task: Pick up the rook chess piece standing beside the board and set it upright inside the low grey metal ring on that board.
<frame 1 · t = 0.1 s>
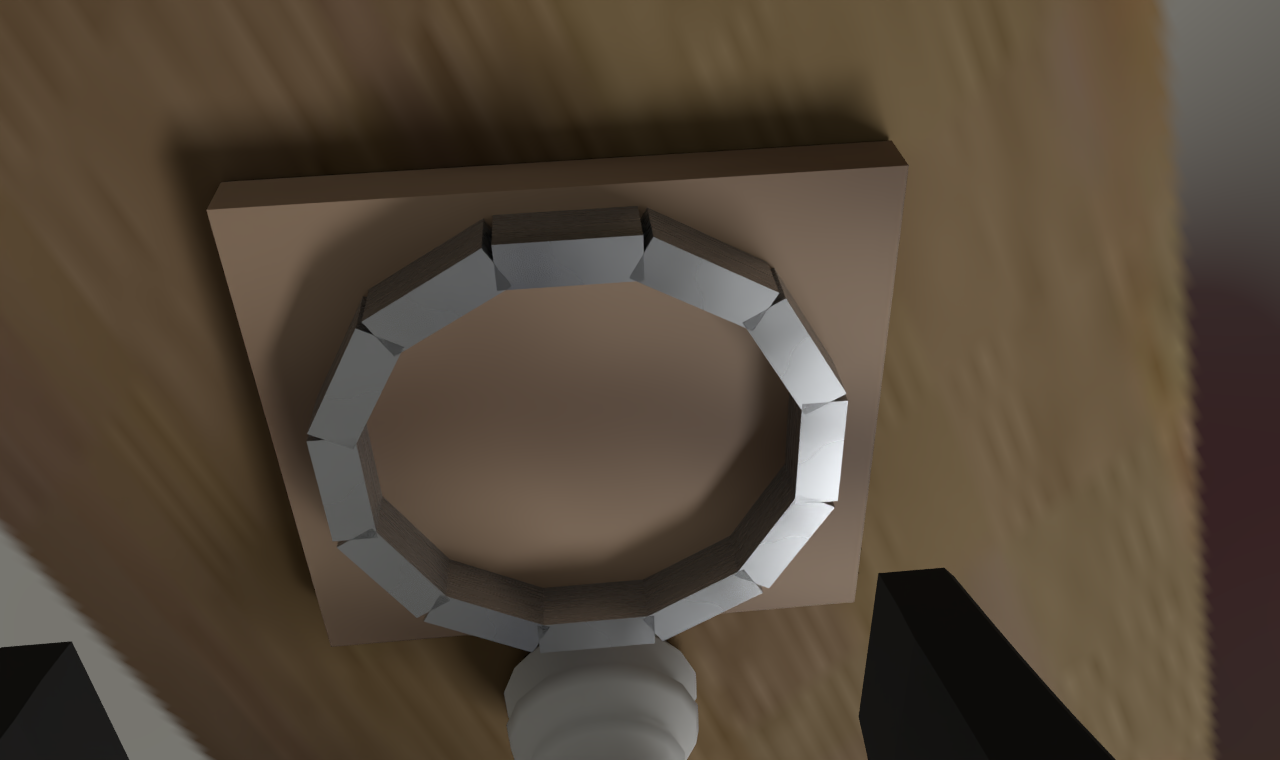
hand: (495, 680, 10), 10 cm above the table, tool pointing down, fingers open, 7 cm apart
socket board: (580, 404, 21), on the table
rook chess piece: (599, 671, 26), on the table
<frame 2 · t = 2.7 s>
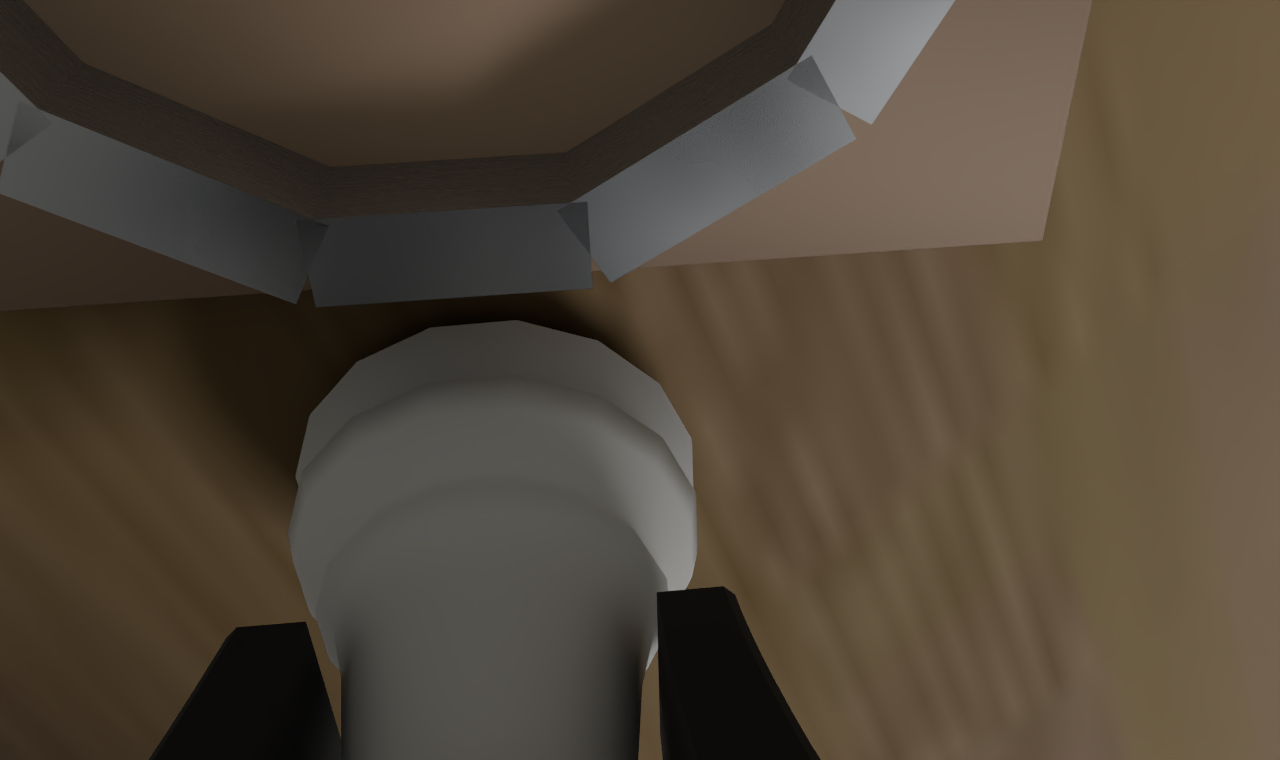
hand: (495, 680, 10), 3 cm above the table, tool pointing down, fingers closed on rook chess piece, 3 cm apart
rook chess piece: (501, 449, 13), on the table, touching gripper
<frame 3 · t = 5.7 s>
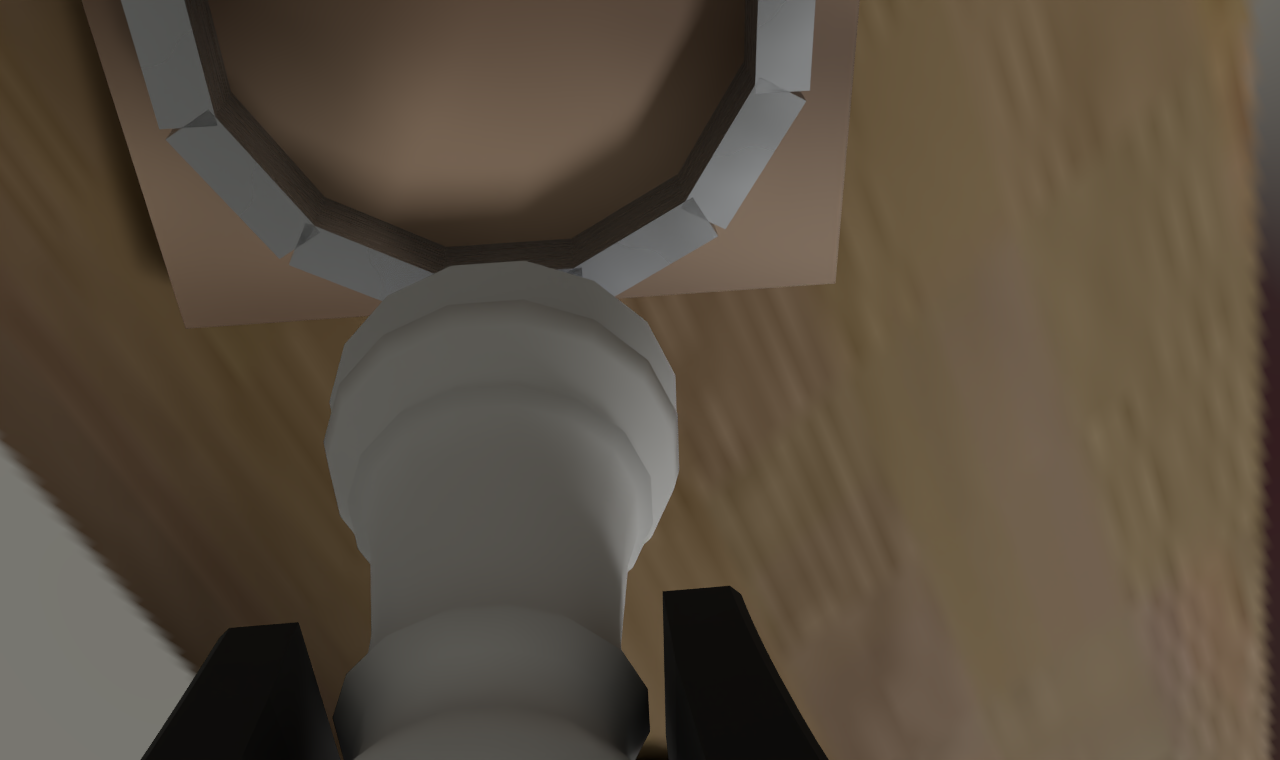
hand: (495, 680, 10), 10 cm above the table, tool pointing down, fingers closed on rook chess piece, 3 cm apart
rook chess piece: (508, 389, 15), point 5 cm above the table, touching gripper
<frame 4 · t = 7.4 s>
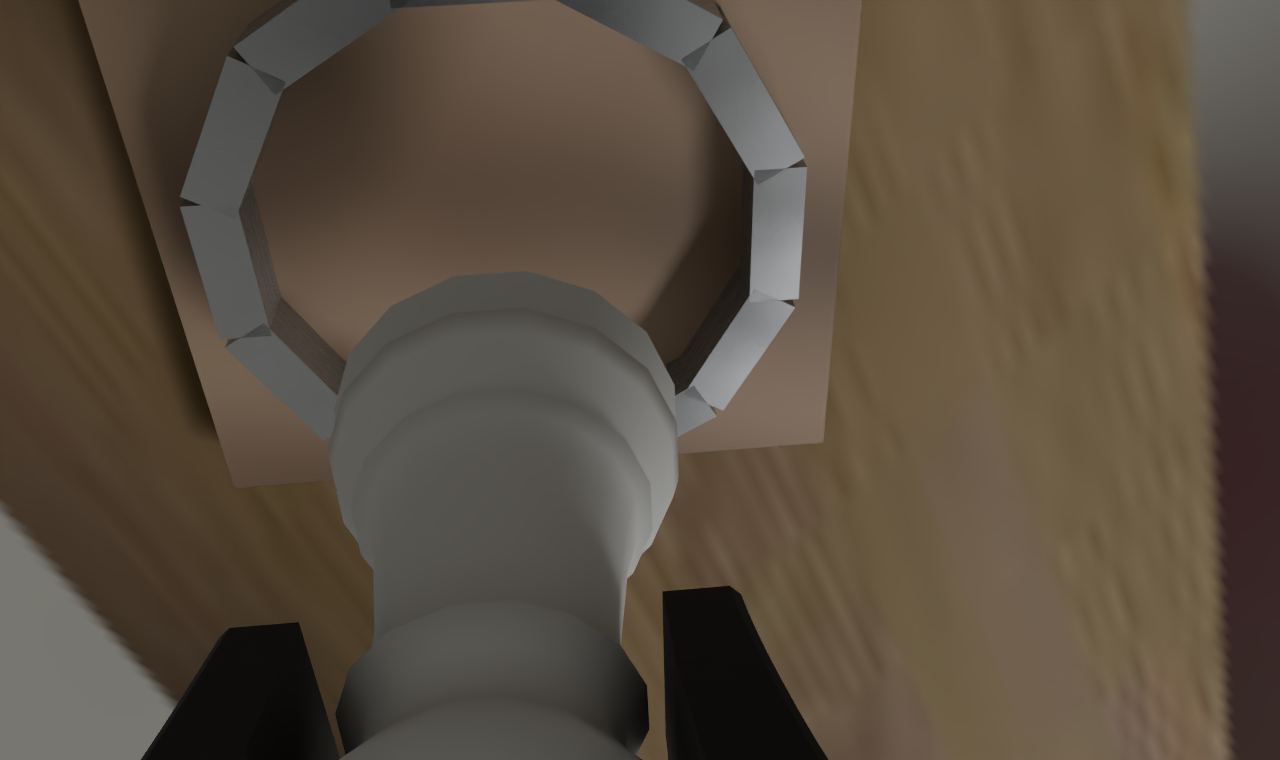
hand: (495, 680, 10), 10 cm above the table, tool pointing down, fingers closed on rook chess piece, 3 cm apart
socket board: (507, 198, 18), on the table
rook chess piece: (510, 400, 15), point 5 cm above the table, touching gripper
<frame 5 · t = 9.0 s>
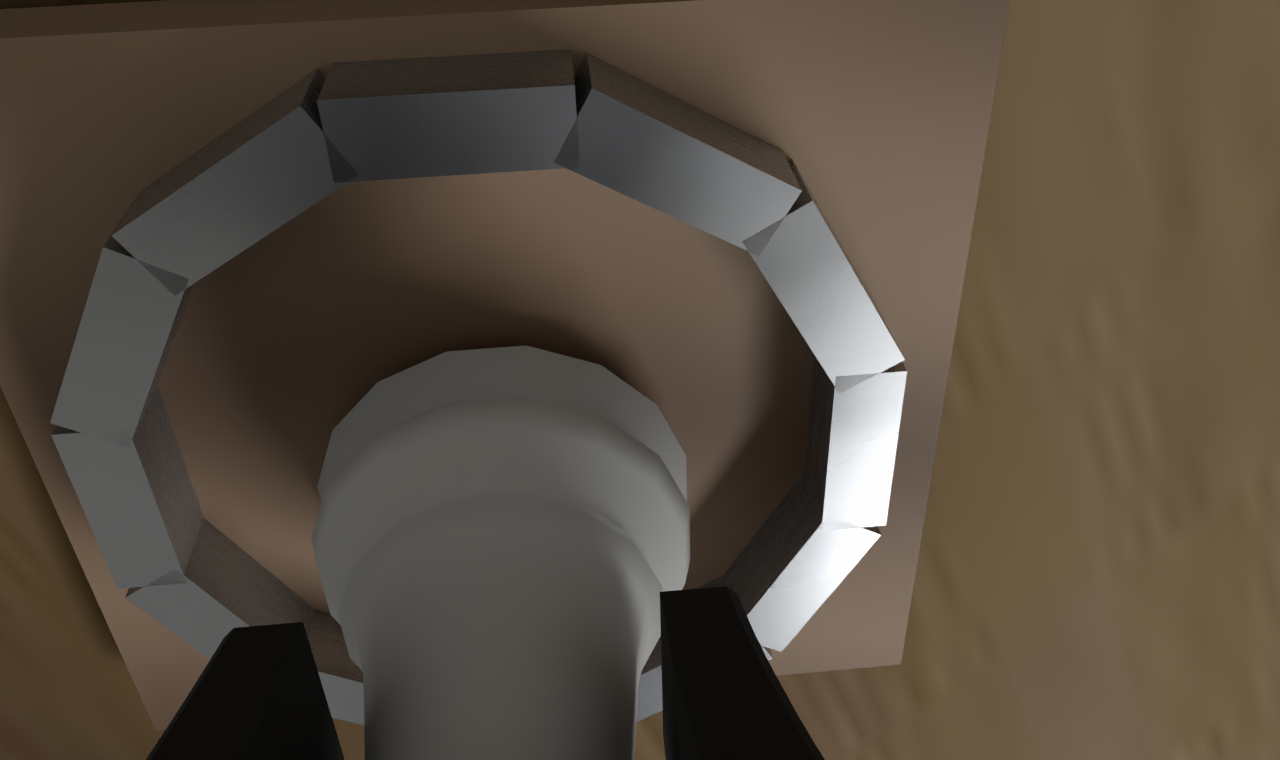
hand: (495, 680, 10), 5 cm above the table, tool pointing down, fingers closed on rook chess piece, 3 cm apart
socket board: (502, 382, 14), on the table
rook chess piece: (507, 462, 14), point 1 cm above the table, touching gripper, socket board
when the fingers open (5 cm above the table, at t = 10.3 s): rook chess piece stays where it is, resting on socket board.
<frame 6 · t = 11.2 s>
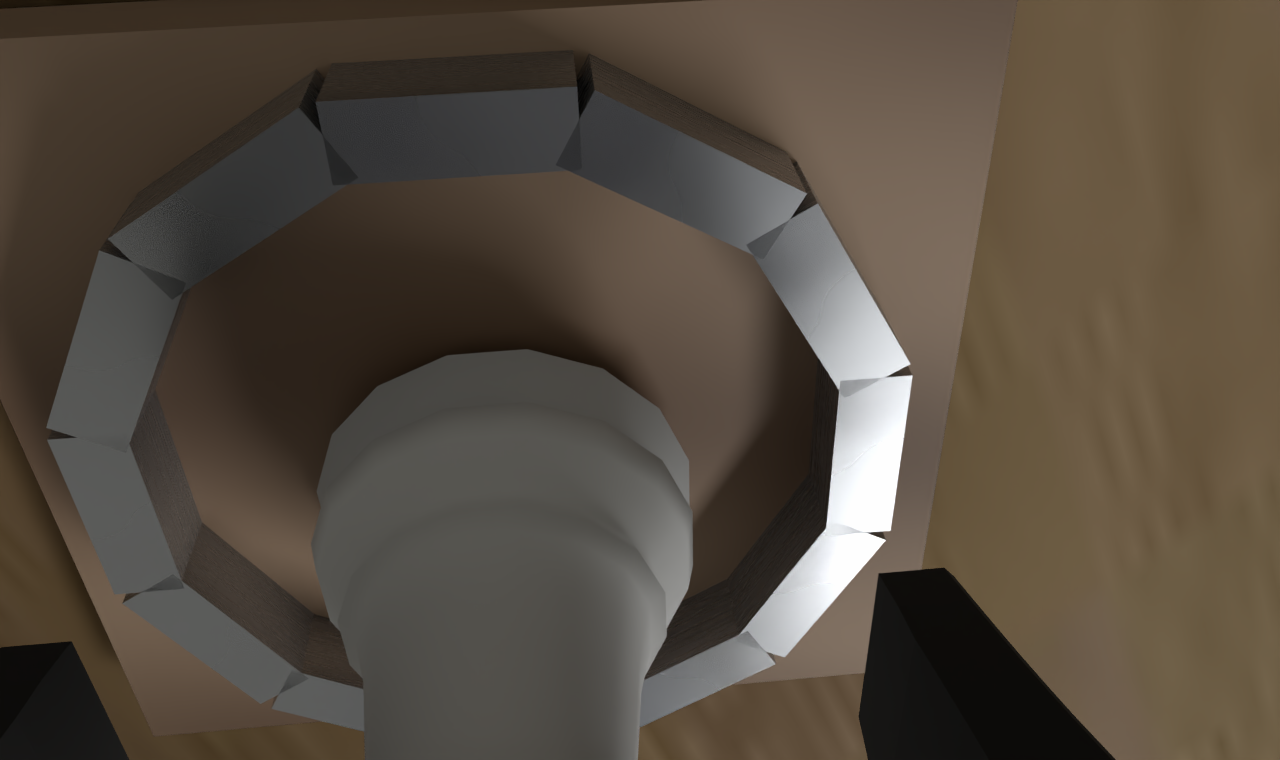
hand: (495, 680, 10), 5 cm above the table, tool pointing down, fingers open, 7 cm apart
socket board: (502, 386, 14), on the table
rook chess piece: (508, 466, 14), point 1 cm above the table, touching socket board
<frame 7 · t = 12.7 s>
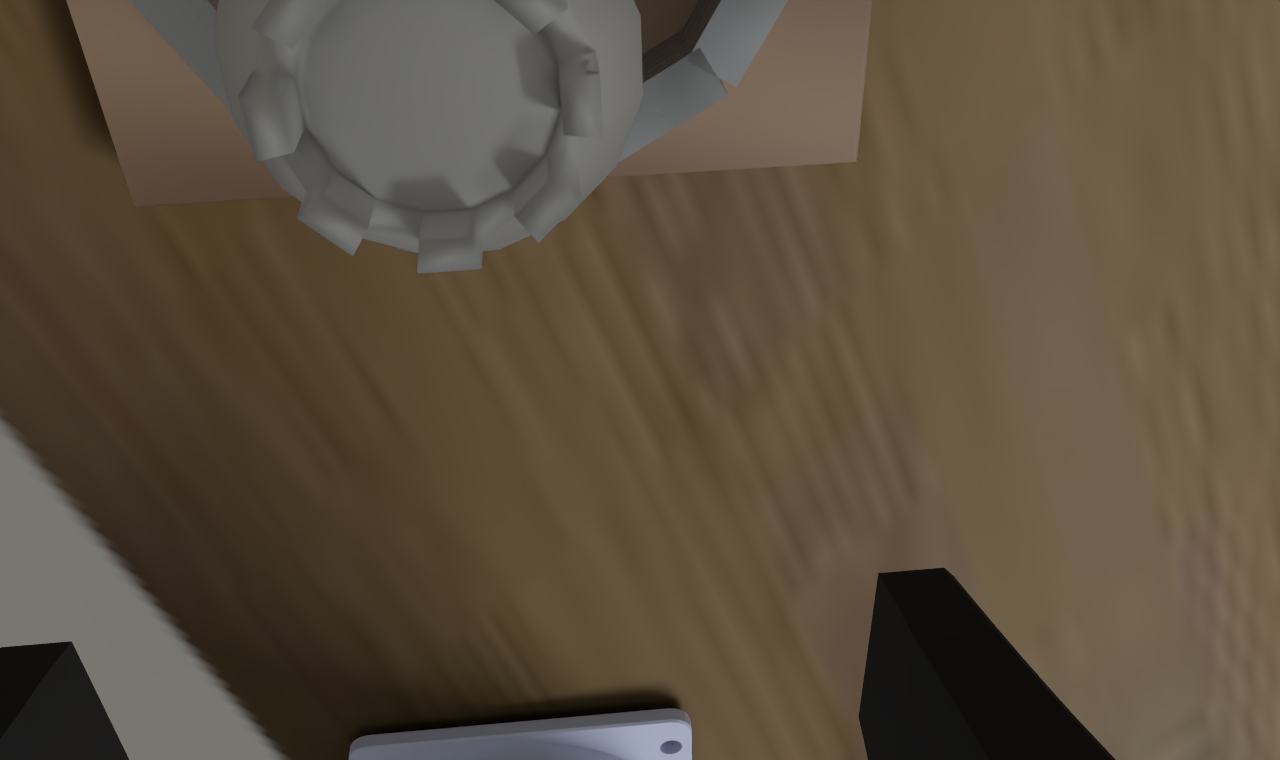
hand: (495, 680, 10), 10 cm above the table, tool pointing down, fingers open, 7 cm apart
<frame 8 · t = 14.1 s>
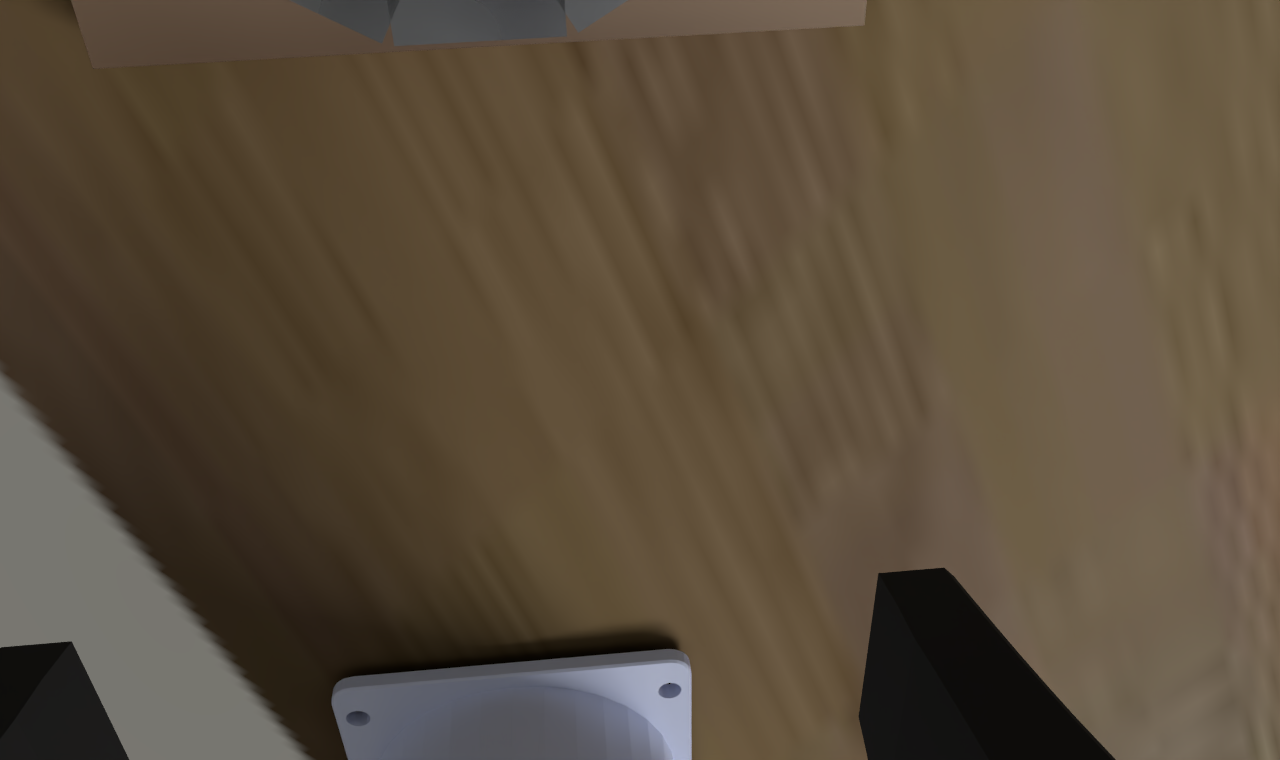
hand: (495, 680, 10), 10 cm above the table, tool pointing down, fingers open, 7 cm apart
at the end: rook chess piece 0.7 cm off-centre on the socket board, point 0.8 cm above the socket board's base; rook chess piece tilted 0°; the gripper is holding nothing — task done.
